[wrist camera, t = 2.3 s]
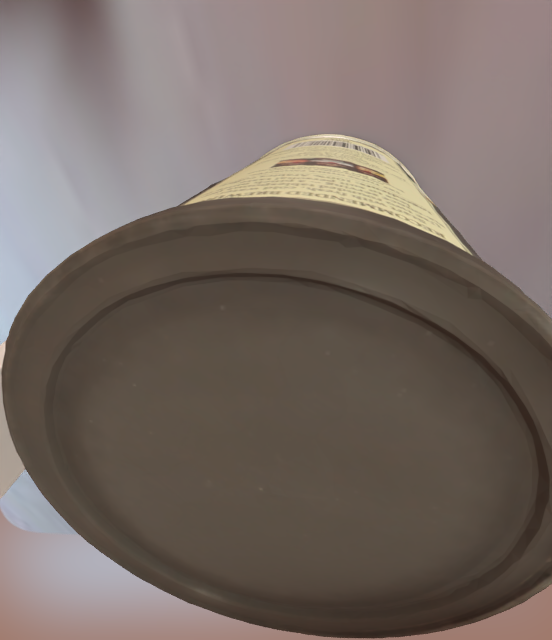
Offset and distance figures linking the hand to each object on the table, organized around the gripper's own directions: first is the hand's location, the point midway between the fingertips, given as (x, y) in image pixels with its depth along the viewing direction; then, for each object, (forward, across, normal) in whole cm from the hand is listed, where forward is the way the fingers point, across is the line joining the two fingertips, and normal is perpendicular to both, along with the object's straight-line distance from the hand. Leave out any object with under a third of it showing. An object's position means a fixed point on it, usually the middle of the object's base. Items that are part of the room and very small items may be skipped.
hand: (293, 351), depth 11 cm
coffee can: (+9, 0, 0) cm, 9 cm away
